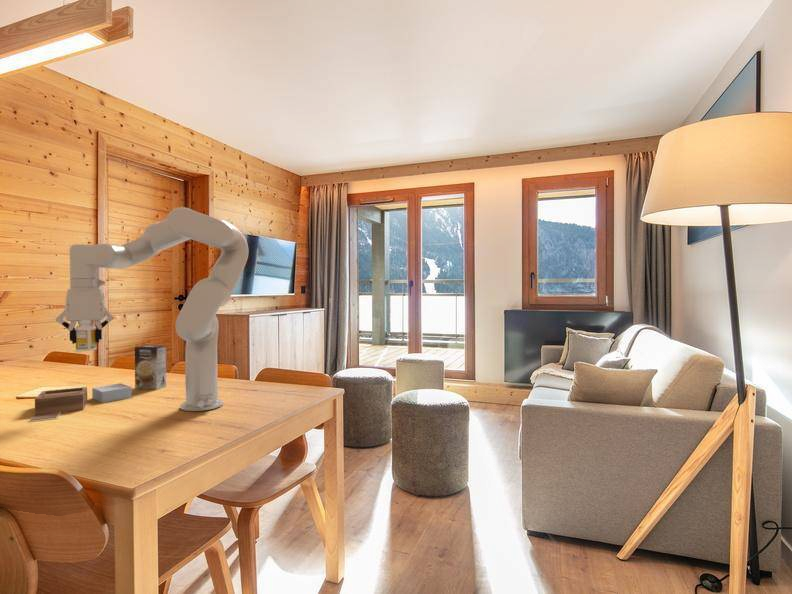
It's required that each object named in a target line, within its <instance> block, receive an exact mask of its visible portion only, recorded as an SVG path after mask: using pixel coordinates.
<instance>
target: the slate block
mask: <svg viewBox="0 0 792 594" xmlns="http://www.w3.org/2000/svg"><path fill="white" fill-rule="evenodd" d="M91 392H92V393H91V394H92V399H93V400H95V401H97V402H99V403H103V404H104V403H109V402H114V401H119V400H125V399H131V398H132V396H133V395H132V394H133V393H132V386H129V385H127V384H123V383H117V384H108V385H103V386H97V387H92V391H91Z"/></svg>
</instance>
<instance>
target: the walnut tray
mask: <svg viewBox="0 0 792 594" xmlns="http://www.w3.org/2000/svg"><path fill="white" fill-rule="evenodd" d="M87 403H88V387H87V386H84V387H83V386H81V387H73V388H62V389H61V388H60V389H52V390H51V389H50V390H42V391H41V392H40V393H39V394H38V395H37V396H36V398H35V399H34V414H43V413H52V412H61V413H67V412H77V411H84V409H85V407H86V405H87Z"/></svg>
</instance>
